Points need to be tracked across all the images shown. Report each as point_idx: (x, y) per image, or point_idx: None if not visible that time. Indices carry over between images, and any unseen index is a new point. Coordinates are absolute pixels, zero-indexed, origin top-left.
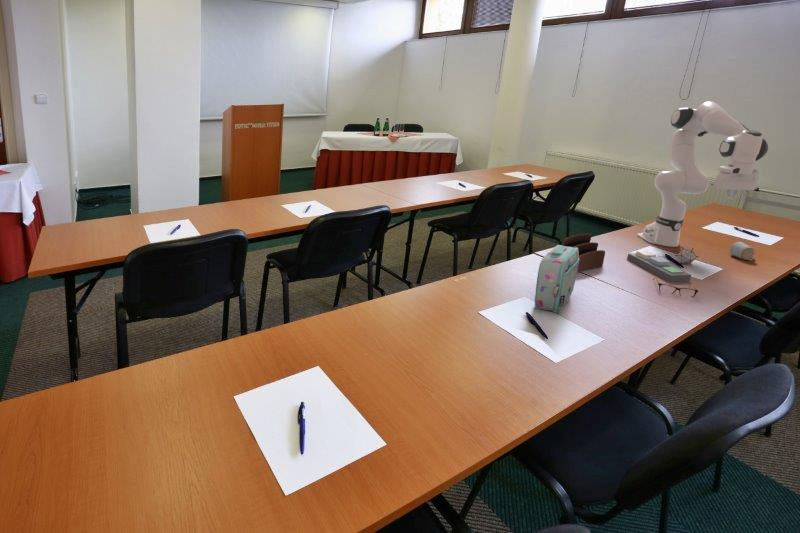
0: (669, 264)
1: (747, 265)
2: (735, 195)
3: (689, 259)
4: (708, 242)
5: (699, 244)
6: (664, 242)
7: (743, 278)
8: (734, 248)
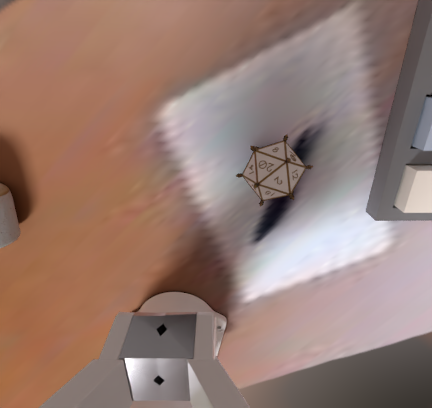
0: (410, 109)
1: (25, 135)
2: (115, 370)
3: (287, 144)
4: (20, 319)
5: (64, 307)
6: (199, 308)
7: (152, 3)
8: (8, 228)
